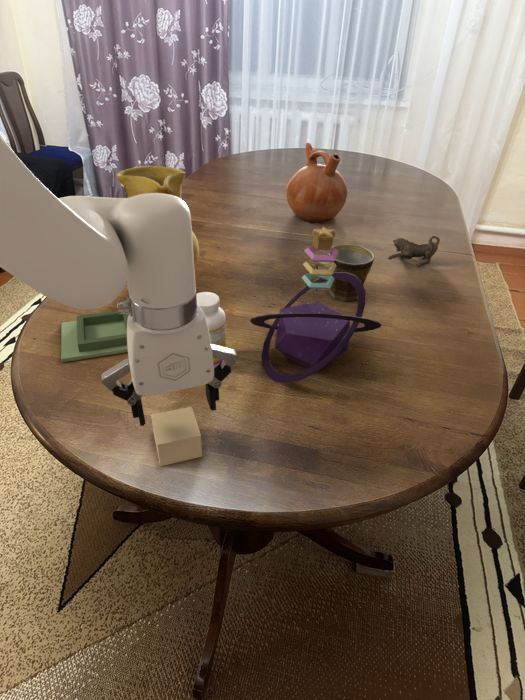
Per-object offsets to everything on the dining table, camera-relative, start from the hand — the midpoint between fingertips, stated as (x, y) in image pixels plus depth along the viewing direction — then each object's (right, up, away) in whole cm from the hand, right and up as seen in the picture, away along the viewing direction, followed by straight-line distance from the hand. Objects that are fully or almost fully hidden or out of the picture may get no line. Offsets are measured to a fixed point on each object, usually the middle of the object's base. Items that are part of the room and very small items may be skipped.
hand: (177, 411), depth 64 cm
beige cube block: (-1, -6, +4) cm, 7 cm away
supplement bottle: (+2, +7, +21) cm, 22 cm away
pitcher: (-11, +24, +43) cm, 51 cm away
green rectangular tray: (-18, +11, +25) cm, 33 cm away
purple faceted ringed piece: (+20, +7, +22) cm, 31 cm away
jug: (+28, +50, +80) cm, 98 cm away
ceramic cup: (+29, +21, +42) cm, 55 cm away
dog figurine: (+50, +31, +57) cm, 82 cm away
